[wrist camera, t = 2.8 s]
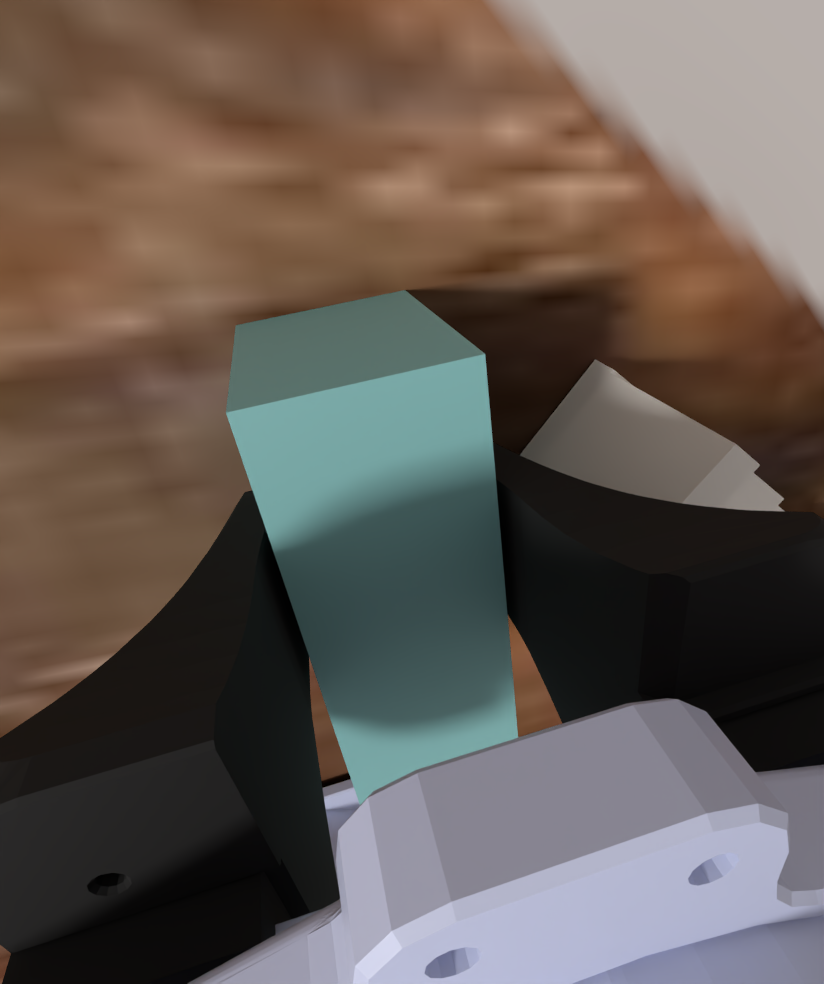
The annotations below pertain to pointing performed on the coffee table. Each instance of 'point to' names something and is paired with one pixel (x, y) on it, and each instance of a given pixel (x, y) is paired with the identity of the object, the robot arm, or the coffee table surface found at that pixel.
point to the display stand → (645, 448)
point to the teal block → (382, 524)
